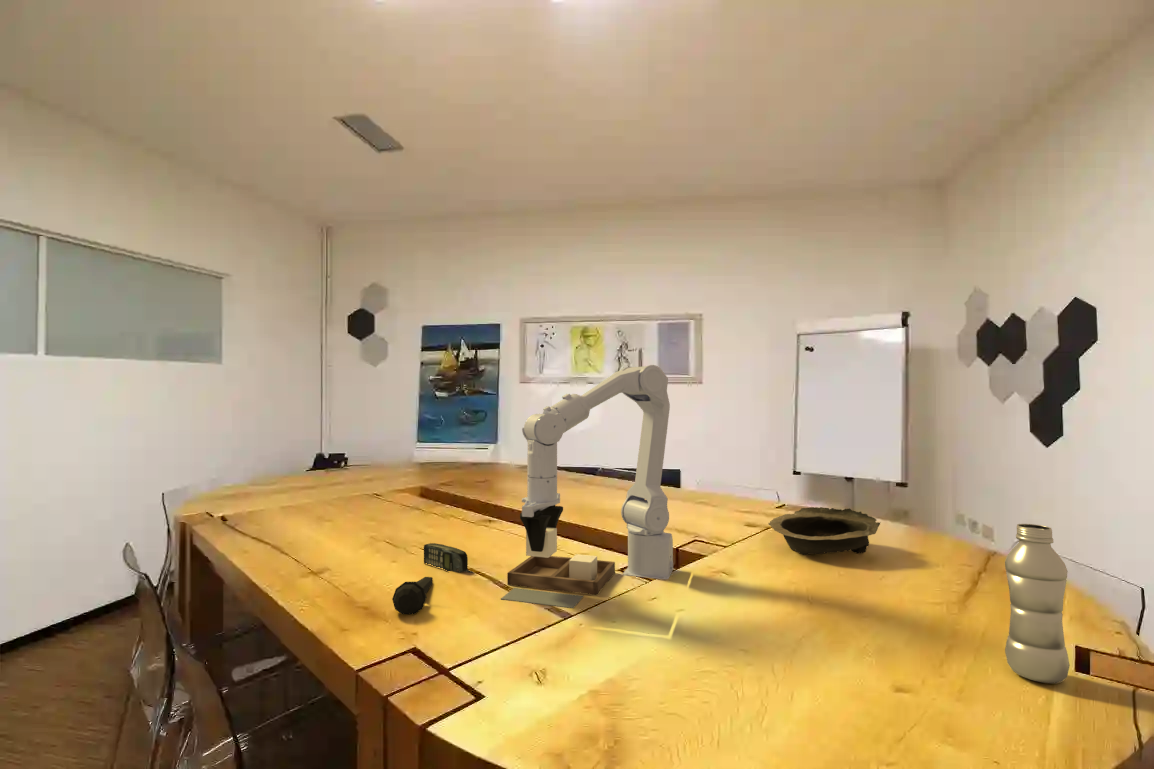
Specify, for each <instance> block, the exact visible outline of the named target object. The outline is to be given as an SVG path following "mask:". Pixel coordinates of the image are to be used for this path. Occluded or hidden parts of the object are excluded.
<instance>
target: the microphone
mask: <svg viewBox="0 0 1154 769" xmlns="http://www.w3.org/2000/svg"><path fill="white" fill-rule="evenodd" d="M432 585H433V577H432V576H424V577H423V578H421V579H419V580H418V581H404V582H403V583H402V584H400V585H399V586H398V587H396V588H395V589H394V590H395V591H394V592H393V595H392V596H393V597H392V598H391V599H392V603H393V607H394V610H396V611H397V612H398V613H400V614H401V615H417V613H418V612H420V611H422V610H423V608H424V605H425V604H426V601H427V600H426V599H427V593H428V592H429V590H430V589H431V587H432Z"/></svg>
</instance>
